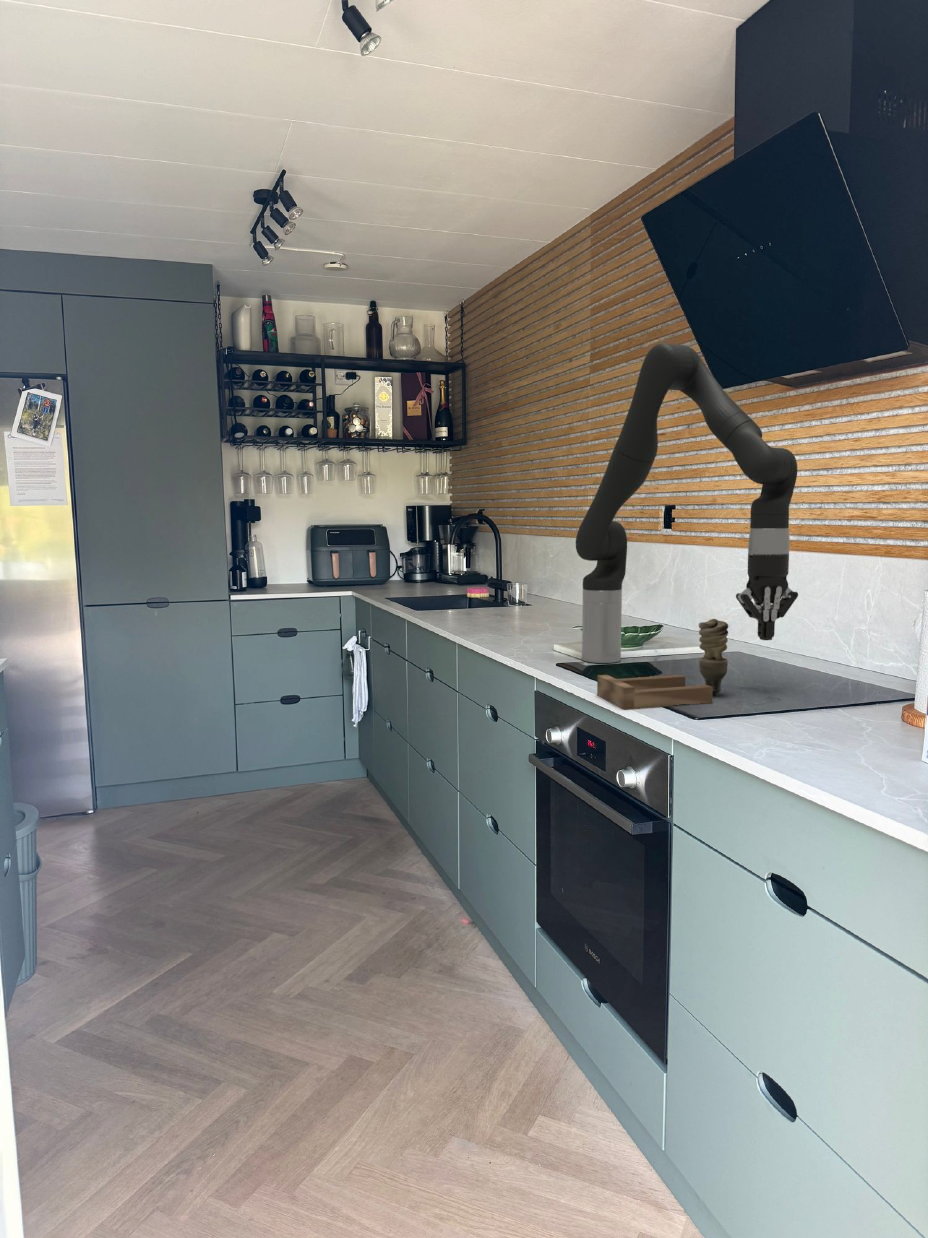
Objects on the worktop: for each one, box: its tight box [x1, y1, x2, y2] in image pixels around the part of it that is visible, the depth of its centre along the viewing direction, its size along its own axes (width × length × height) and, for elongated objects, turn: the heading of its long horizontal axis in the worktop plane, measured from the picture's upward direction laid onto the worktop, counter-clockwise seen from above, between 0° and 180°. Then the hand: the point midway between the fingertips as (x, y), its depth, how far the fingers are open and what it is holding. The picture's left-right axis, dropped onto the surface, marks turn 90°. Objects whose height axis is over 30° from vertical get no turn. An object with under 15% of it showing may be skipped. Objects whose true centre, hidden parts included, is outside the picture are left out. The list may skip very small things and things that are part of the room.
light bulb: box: [698, 618, 729, 697], centre depth 160 cm, size 6×6×15 cm
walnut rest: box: [596, 674, 713, 710], centre depth 157 cm, size 12×18×4 cm, turn 105°
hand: (765, 639), depth 162 cm, fingers closed
